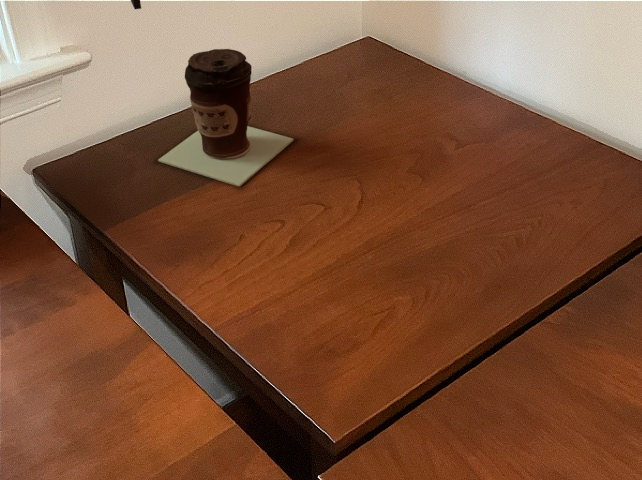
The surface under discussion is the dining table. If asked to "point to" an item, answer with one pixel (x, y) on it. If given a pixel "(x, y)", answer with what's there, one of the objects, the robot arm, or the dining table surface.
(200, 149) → the mat
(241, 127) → the coffee cup
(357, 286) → the dining table surface
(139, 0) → the robot arm
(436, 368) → the dining table surface
